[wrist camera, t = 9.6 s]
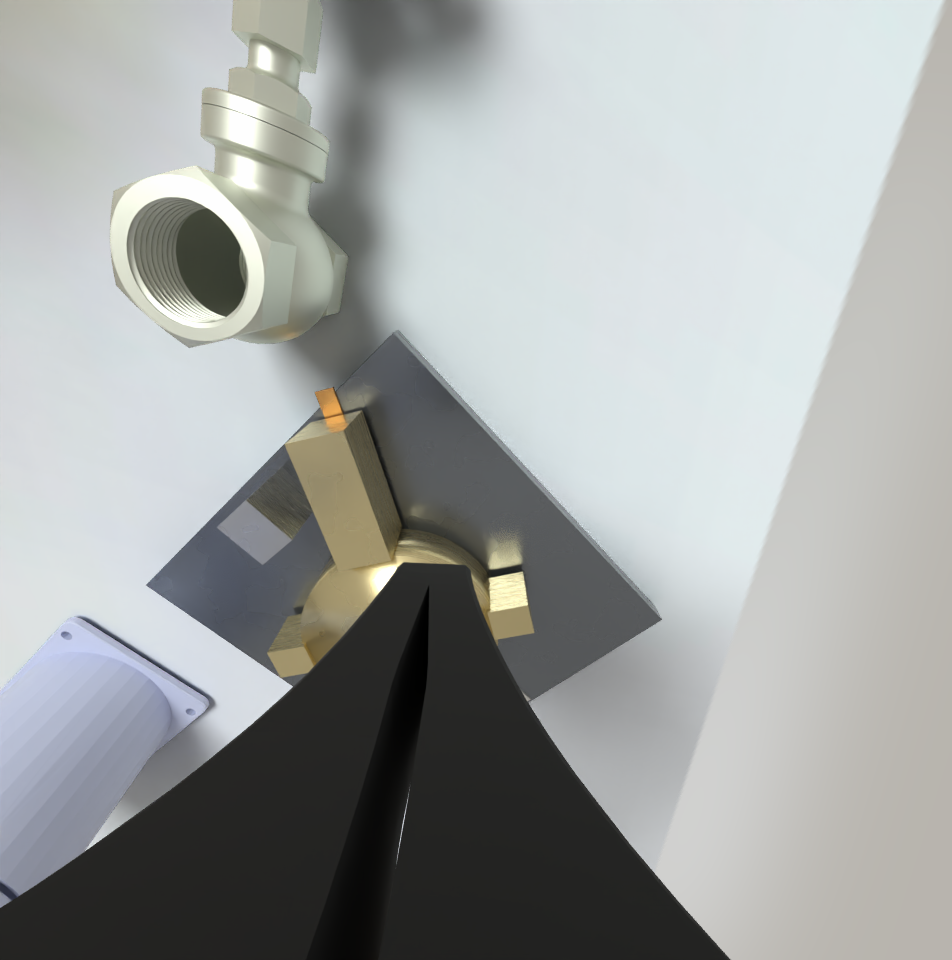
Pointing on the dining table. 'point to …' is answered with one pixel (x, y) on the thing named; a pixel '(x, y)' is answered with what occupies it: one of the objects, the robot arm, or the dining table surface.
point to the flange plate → (420, 506)
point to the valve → (239, 202)
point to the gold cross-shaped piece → (369, 546)
